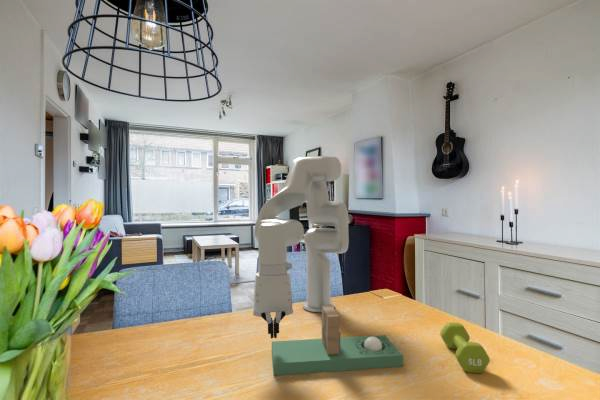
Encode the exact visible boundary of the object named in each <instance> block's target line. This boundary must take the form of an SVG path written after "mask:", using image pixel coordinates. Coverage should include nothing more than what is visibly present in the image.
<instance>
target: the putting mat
mask: <svg viewBox="0 0 600 400" xmlns="http://www.w3.org/2000/svg"><path fill="white" fill-rule="evenodd" d="M368 337H376V338H378V339H379V340H380V341H381V343H382V351H369V350H366V349H364V342H365V340H366V339H367V338H368ZM271 360H272V373H273V376H286V375H298V374H299V375H300V374H302V375H303V374H312V373H313V374H314V373H315V374H316V373H327V372H341V371H342V372H344V371H353V370H354V371H355V370H367V369H368V370H369V369H371V370H372V369H383V368H385V369H386V368H396V367H397V368H398V367H400V368H401V367H403V366H404V355H403V353H402V352H401V351H400V349H398V348H397V346H396V345H395V344H394V343H393V342H392V341H391V339H390V338H388V337H387V335H386V334H379V335H364V336H363V335H362V336H361V335H360V336H348V337H347V336H345V337H341V336H340V352H339V354H333V355H328V354H327V352H326V349H325V347H324V345H323V342H322V338H313V339H310V338H308V339H294V340H293V339H292V340H274V341H271Z"/></svg>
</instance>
